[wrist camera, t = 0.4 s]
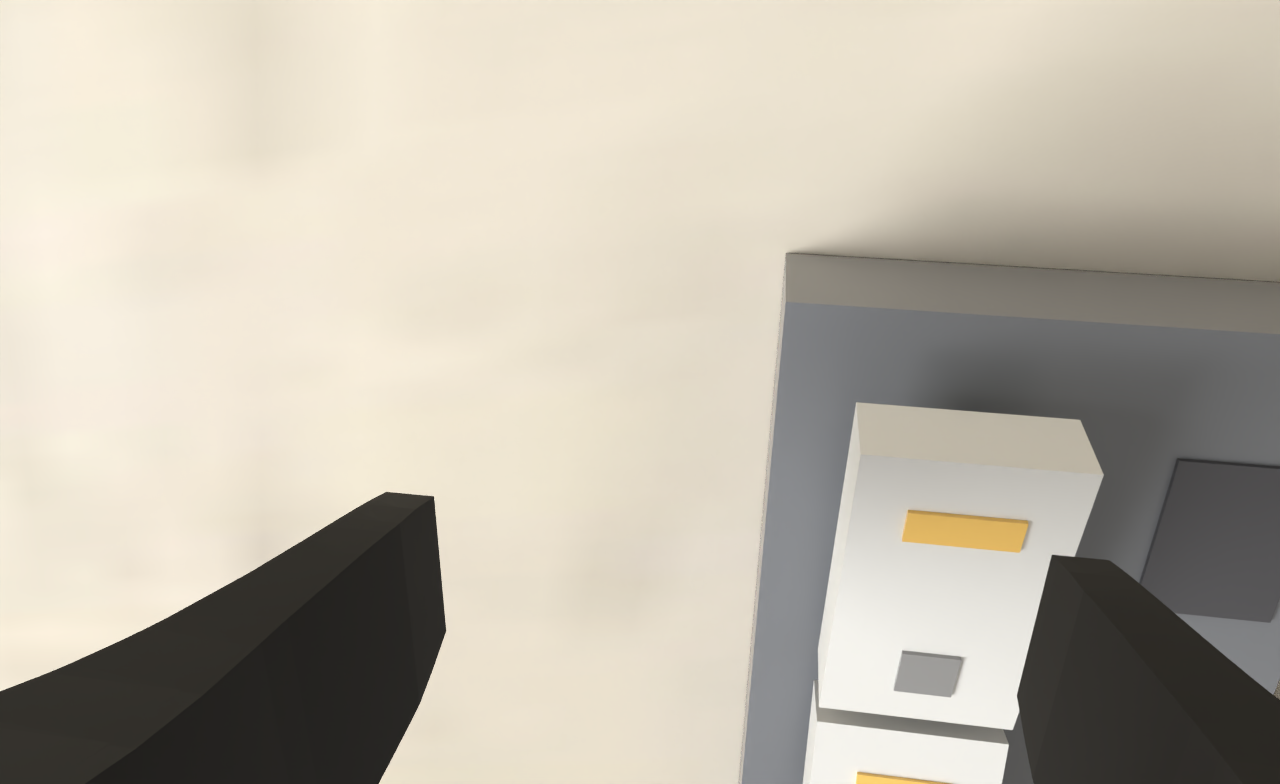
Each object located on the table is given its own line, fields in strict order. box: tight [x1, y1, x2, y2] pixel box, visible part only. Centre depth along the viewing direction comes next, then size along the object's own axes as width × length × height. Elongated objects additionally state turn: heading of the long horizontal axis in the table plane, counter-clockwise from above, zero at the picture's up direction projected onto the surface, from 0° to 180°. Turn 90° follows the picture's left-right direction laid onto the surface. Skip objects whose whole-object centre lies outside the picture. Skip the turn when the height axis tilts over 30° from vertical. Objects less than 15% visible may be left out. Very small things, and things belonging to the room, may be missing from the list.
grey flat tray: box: [739, 253, 1280, 784], centre depth 21 cm, size 22×10×3 cm, turn 179°
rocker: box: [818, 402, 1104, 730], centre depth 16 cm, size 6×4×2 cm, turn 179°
